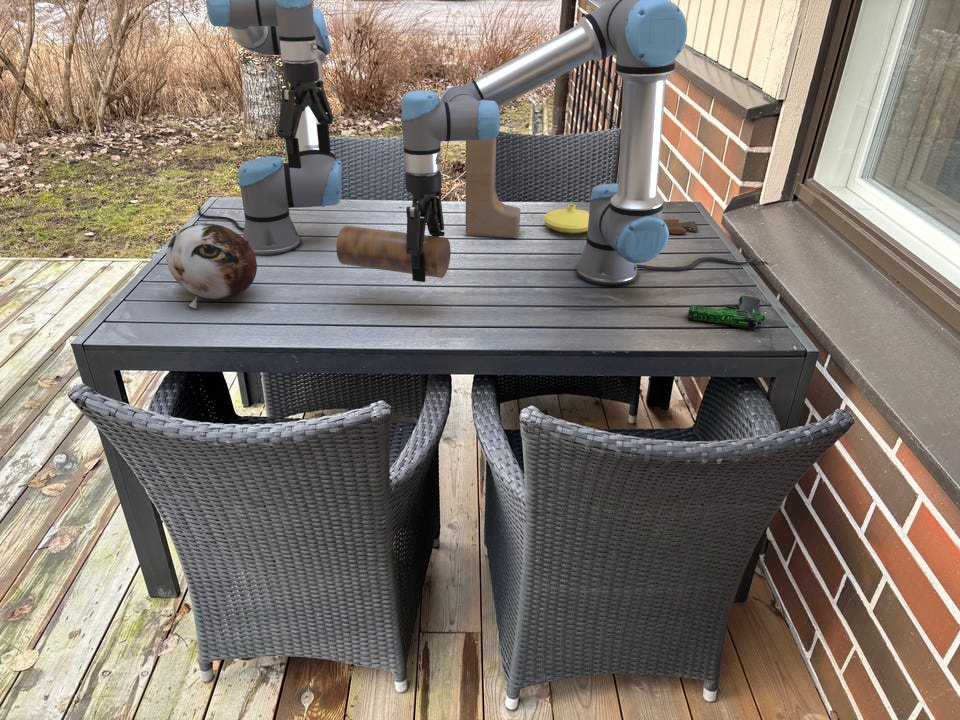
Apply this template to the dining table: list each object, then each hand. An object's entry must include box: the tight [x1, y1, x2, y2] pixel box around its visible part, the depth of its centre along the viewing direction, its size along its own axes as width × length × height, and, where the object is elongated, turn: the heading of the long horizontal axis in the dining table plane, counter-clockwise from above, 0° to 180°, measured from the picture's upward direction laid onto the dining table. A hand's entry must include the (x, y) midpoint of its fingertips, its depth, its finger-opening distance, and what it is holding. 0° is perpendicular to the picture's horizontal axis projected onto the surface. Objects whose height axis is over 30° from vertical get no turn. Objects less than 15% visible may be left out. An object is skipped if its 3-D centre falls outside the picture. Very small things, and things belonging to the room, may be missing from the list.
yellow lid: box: [543, 203, 589, 234], centre depth 209 cm, size 16×16×7 cm
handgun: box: [687, 295, 766, 331], centre depth 164 cm, size 16×3×15 cm
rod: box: [335, 225, 452, 279], centre depth 159 cm, size 24×9×9 cm, turn 72°
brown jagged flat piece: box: [662, 218, 698, 235], centre depth 212 cm, size 26×2×10 cm
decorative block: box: [465, 137, 521, 239], centre depth 199 cm, size 8×15×30 cm, turn 82°
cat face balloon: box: [165, 222, 258, 309], centre depth 165 cm, size 22×18×20 cm
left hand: (310, 160), depth 165 cm, fingers open, 13 cm apart
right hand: (427, 272), depth 159 cm, fingers closed on rod, 9 cm apart
